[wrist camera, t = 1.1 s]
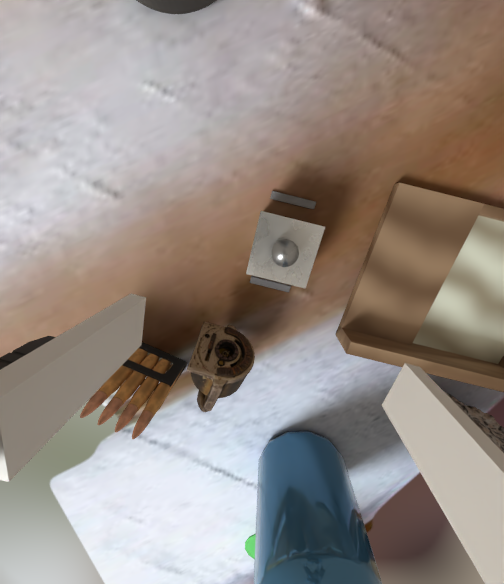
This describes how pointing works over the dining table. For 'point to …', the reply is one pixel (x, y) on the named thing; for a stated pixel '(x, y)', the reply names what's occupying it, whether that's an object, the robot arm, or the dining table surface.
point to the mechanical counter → (219, 363)
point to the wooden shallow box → (432, 289)
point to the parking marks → (290, 200)
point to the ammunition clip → (141, 368)
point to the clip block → (284, 249)
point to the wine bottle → (309, 516)
